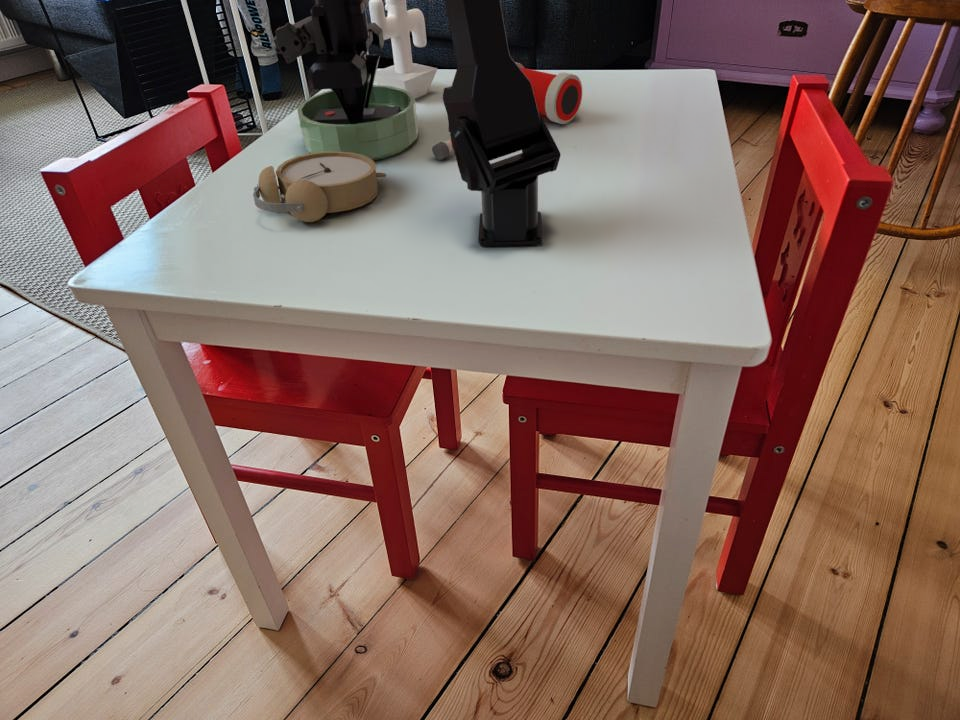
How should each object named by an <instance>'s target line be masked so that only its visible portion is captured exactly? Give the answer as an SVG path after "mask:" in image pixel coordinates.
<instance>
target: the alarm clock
mask: <svg viewBox="0 0 960 720" xmlns="http://www.w3.org/2000/svg"><path fill="white" fill-rule="evenodd" d="M386 177H387V173H386V172H382V171H381V172H377V163H376V162H375V160H374V161H373V160H372V159H370V158H368V157H366V156H364V155H361V154H356V153H352V152H341V151H330V152H317V153H310V152H308V153H305V154H301V155H298V156H293V157H292V158H289V159H287V160H285V161H284V162H282V163H281V164H280V165H278V166H277V168H276V170H275V169H274V167H273V165H270V166H266V167H265V168H263V169H262V170H261V172H260V173H259V176H258V183H257V184H256V186H255V187H253V193H252V196H253V199H254V200H253V202H254V205H255V206H256V207H257V208H258V209H260V210H262V211H266V212H270V213H290V215H292V216H293V217H294V218H295V219H297V220H298V221H300V222H304V223H314V222H317V221H319V220H321V219H322V218H323V217H325V216H326V214H327V213H328V214H329V213H330V214H331V213H338V212H345V211H350V210H354V209H357V208H361V207H363V206H364V205H366V204H367V205H368V203H370V202H372V201H374V199H376V197H377V196H378V192H379V186H378V181H377V179H381V178H386ZM260 197H261V198H262V199H260Z"/></svg>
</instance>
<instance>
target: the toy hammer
mask: <svg viewBox="0 0 960 720" xmlns="http://www.w3.org/2000/svg"><path fill="white" fill-rule="evenodd" d="M514 62H515V63H516V64H517V65H518V67H519V68H520V69H521V70H522V72H523V73H524V74H525V75H526V77H527V78H528V79H529V81H530V82H531V85H532V89H533V93H534V97H535V101H536V104H537V108H538V110H539V112H540V114H541V116H545V117H547V119H548V120H549V121H550V122H553V123H556V124H560V125H566V124H568V123H570V122H571V121H572V120H573V119H574V118H575V117H576V115H577V114H578V112H579V110H580V107H581V105H582V104H581V103H582V99H583V85H582V81H581V79H580V77H579V76H577V75H576V74H572V73H569V72H560V73H558V74H554V73H549V72H544V71H539V70H535V69H531V68H525V66H523V64H522V63H520V62H517V61H514ZM431 150H432V151H431V152H432V155H433V156H434V158H435V159H437V161H442V160H444V159H445V158H447V157H448V156H450V152H452V151H454V148H453V144H452V140H451V138H449V139H447V140H446V141H439V142H437V143H436V144H434V145H433V146H432V148H431Z"/></svg>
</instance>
